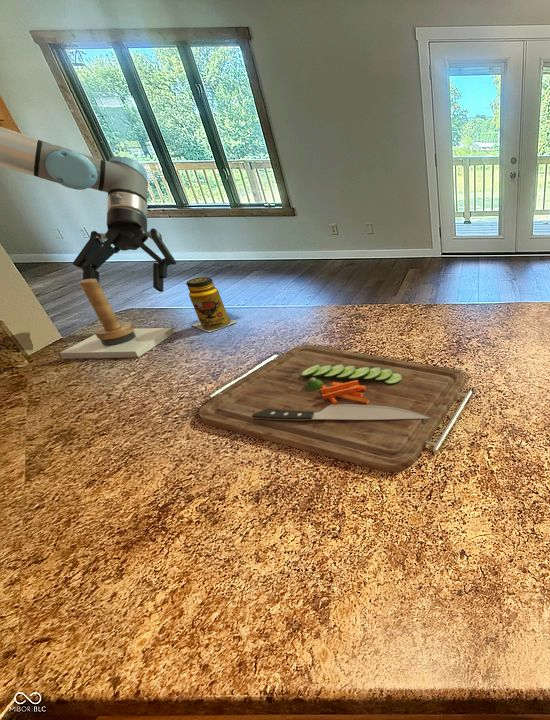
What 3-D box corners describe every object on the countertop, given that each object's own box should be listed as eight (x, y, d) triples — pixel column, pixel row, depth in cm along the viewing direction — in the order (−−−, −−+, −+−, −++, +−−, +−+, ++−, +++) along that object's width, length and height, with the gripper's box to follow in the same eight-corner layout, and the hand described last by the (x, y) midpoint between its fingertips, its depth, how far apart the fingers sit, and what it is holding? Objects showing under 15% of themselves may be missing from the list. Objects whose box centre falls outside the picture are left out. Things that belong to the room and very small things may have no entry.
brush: (93, 346, 84) (57, 285, 77) (117, 333, 90) (86, 275, 83) (121, 346, 84) (88, 285, 77) (144, 333, 90) (115, 275, 83)
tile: (63, 358, 82) (59, 352, 82) (108, 334, 93) (105, 328, 92) (138, 357, 83) (135, 351, 82) (174, 333, 93) (172, 327, 93)
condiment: (209, 333, 93) (190, 286, 87) (191, 325, 97) (172, 280, 91) (238, 322, 99) (222, 277, 93) (220, 315, 102) (204, 272, 96)
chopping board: (481, 379, 74) (481, 366, 73) (421, 481, 52) (420, 465, 51) (294, 346, 87) (290, 334, 85) (181, 417, 65) (174, 403, 63)
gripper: (55, 208, 90) (48, 289, 86) (175, 204, 96) (176, 280, 91) (80, 226, 97) (75, 303, 93) (191, 222, 103) (192, 293, 99)
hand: (125, 292), depth 92 cm, fingers open, 13 cm apart
